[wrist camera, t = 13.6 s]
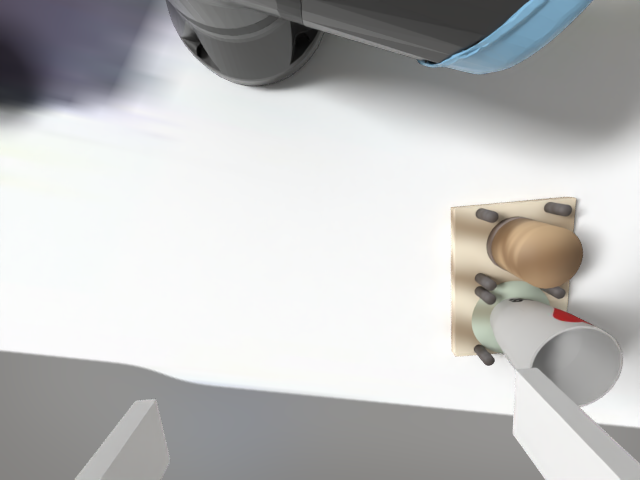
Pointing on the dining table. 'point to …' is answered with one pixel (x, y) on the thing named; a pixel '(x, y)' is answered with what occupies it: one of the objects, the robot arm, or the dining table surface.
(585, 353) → the cup
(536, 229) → the wooden round post
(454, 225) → the pin board
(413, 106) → the dining table surface
